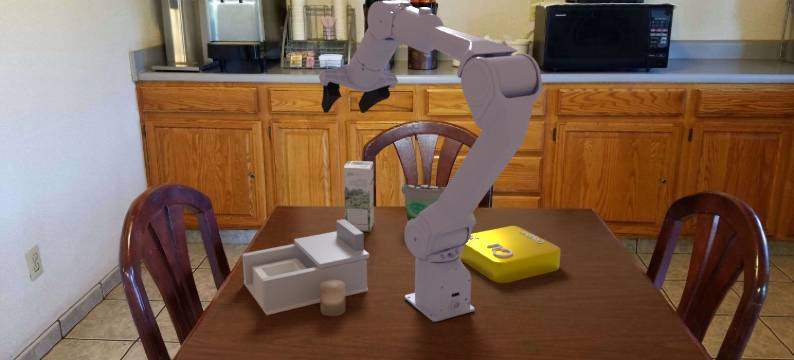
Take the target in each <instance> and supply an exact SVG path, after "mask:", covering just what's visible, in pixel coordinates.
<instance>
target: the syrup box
mask: <svg viewBox="0 0 794 360" xmlns="http://www.w3.org/2000/svg"><path fill="white" fill-rule="evenodd" d="M343 196H344V197H343V198H344V199H343V200H344V201H343V203H344V219H345V220H346V221H348V222H349V223H350V224H352V225H353V226H354V227H356V228H357V229H358V230H360V231H361V232H362V233H364V232H365V233H366V232H368V233H369V232H371V231H372V228H373V226H374V224H373V223H375V220H374V219H375V214H374V212H375V211H374V161H361V160H359V161H358V160H355V161H354V160H348V161H346V163H345V164H344V166H343Z"/></svg>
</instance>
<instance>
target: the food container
mask: <svg viewBox="0 0 794 360" xmlns="http://www.w3.org/2000/svg"><path fill="white" fill-rule="evenodd" d="M446 187H447V186H439V185H435V184H431V183H430V184H429V183H425V184H415V183H414V184H413V183H406V179H404V180H403V183H402V186H401V189H400V191H401V193H402V194H403V196H404V200H405V211H406V219H407V221H406V222H408V221H410V220H411V219H415V218H416V217H417V216H418V214H419V213H420V212H421V211H422V210H424V209H426V208H427V207H429V206H430V205H432V204H433V203H435V202H436V201H437V200H438V199H439V197H440V196H441V194H442V193H443V191H444V190H445V188H446Z"/></svg>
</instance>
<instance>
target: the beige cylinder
mask: <svg viewBox="0 0 794 360" xmlns="http://www.w3.org/2000/svg"><path fill="white" fill-rule="evenodd" d="M319 303H320V313H321V314H322V315H324V316H326V317H338V316H342V315H343V314H344V313H346V296H345V283H344V282H342V281H340V280H327V281H324V282H322V283H321V284H320V302H319Z"/></svg>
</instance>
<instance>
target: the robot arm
mask: <svg viewBox="0 0 794 360" xmlns="http://www.w3.org/2000/svg"><path fill="white" fill-rule="evenodd" d="M367 27H368V28H367V29H366V31H365V33H364V35H363V37H362V38H361V40H360V43H359V44H358V47H357V49H356V50H355V52H354V53H353V56H352V57H351V58H350V60H349V63H347V64H344V65H340V66H337V67H334V68H330V69H321V71H320V74H319V76H318V79H319V82H320V85H321V86H322V99H321V108H322V111H323V113H327V114H328V113H329V112H330V110H331V109H332V107H333V105H334V104H335V103H336V102H337V100H339V99H340V98H342V96H343V95H342V93H341V92H340V88H341V86H343V87H346V88H350V89H352V90H356V91H358V92H359V91H360V92H363V94H361V95H362V96H361V97H360V99H359V102H358V105H357V106H358V108H359V110H360V113H361V114H365V113H366V112H368V111H369V110H370V109H371V108H372V107H374V106H375V105H377V104H378V103H380V102H382V101H384V100H388V99H389V98H390V96H391V92H390V89H395V88H396V86H397V84H398V83H399V80H398V77H397V75H396V73H394V72H393V73H392V72H387V71H384V70H385V69H386V67H387V65H388V64H389V62H390V61H391V59H392V57H393V55H395V54H394V53H396V50H397V49H398V47H399V45H402V44H403V45H405V46H407V47H410V48H412V49H415V50H417V51H419V52H422V53H430V52H432V51H434V50H436V51H438V52H440V53H442V54H444V55H446V56H448V57H450V58H451V59H453V60H456V61H457V62H459V64H458V67H457V74H456V75H457V78H458V79H460V84H461V85H460V86H461V89H462V93H463V95H464V98H465V100H466V104H467V106H468V108H469V111H470V115H471V116H472V119H473V121H474V124H475V126H476V127H477V128H479V129H480V130H481V132H480V134H479V135H478V137H477V139H476V140H475V142H474V143H473V145H472V146H471V148H470V149H469V150H468V153H467V154H466V156H465V157H464V159H463V160H462V162H461V164H460V165H459V167H458V168H457V169H456V171H455V173H454V174H453V175H452V177H451V179H450V180H449V181H448V184H447V185H446V186H445V187H446V188H445V190H444V191H443V193H442V194H441V196H440V197H439V199H438V200H437V201H436V202H435V203H433V204H432V205H430V206H429V207H427V208H426V209H424V210H422V211H421V212H420V213H419V214H418V216H417V217H416V218H415V219H411V220H410V221H408V222H407V221H406V222H407V223H406V224H405V228H404V237H403V238H404V243H405V245H406V247H407V248H408V250H409V252H410V254H411V256H414V257H415V258H414V259H415V262H414V263H415V264H414V268H415V269H414V273H415V274H414V292H413V293H409V294H405V296H404V299H405V300H406V301H407V302H409V303H410V304H411V305H412V306H413V307H415V308H416V309H417V310H418V311H419V312H421V313H422V314H423V315H424V316H425V317H427V318H428V319H429V320H430V321H432V322H434V323H435V322H440V321H444V320H446V319H450V318H454V317H457V316H462V315H464V314H468V313H471V312H474V311H475V307H474V306H473V305H472V304H471V296H472V294H471V293H472V275H471V272H470V271H469V269H468V268H466V266H465V264H463V261H462V260H461V258H460V253H462V252H463V246H464V245H466V244H467V243H468V242H469V240H470V237H471V234H472V231H473V228H474V226H475V225H476V224H477V220H476V218H475V215H474V211H475V210H476V208H477V207H478V205H479V204H480V203H481V202H482V200H483V198H484V197H485V196H486V194H487V193H488V192H489V190H490V189H491V187H492V186H494V184H495V182H496V181H497V179H498V178H499V177H500V175H501V173H502V172H503V171H504V170H505V168H506V167H507V165H508V164H509V163H510V161H511V160H512V158H514V155H515V154H516V153H517V151H518V150H519V149H520V148H521V146H522V144H523V143H524V141H525V139H526V137H527V133H528V128H529V124H530V121H531V116H532V112H533V109H534V105H535V104H536V102H537V101H538V99H539V97H540V96H541V94H542V93H543V92H544V86H543V79H542V74H541V70H540V66H539V64H538V62H537V61H536V59H535V58H534V57H532V55H530V54H528V53H517V52H518V49H515V48H514V47H512V46H511V45H506V44H501V43H499V42H495V41H492V40H490V39H489V40H488V39H485V38H482V37H479V36H476V35H471V34H468V33H464V32H462V31H458V30H456V29H452V28H448V27H445V26H444V23H443V21H442V19H441V18H440V17H439V16H438V15H437V14H434V13H432V9H431V8H429V7H419V8H416V7H414V6H413V5H412V4H411V3H410V2H409V1H406V0H385V1H384V0H381V1H380V0H379V1H375V2H373V3H372V4H371V5H370V6H369V8H368V13H367ZM514 53H517V54H515V55H512V54H514Z"/></svg>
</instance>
